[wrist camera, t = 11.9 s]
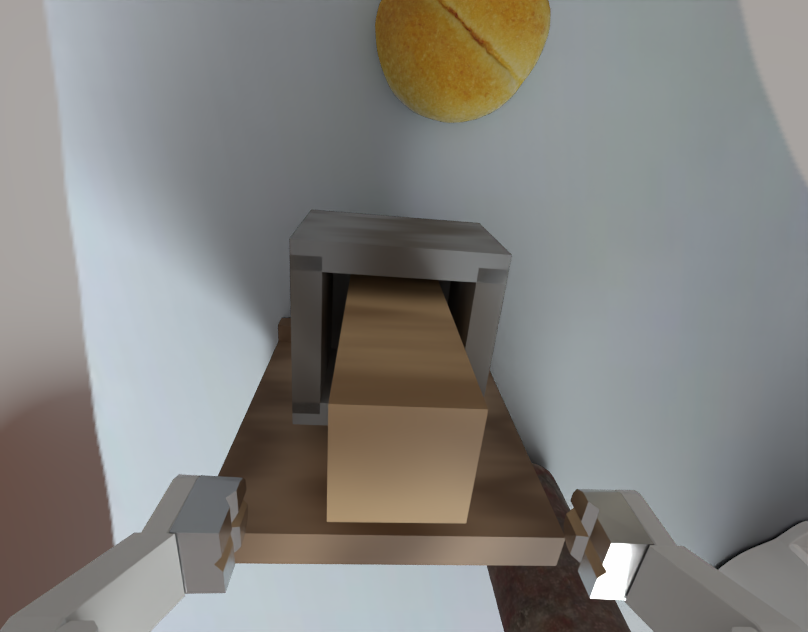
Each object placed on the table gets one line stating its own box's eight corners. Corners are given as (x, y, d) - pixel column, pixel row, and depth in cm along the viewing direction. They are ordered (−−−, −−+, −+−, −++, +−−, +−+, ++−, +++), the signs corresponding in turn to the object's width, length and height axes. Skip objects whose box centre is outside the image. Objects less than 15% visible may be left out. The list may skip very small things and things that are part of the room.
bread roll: (348, 50, 24) (343, 37, 20) (463, -104, 22) (480, -150, 18) (453, 157, 26) (465, 162, 23) (566, 30, 24) (600, 13, 20)
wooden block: (424, 336, 23) (466, 523, 13) (350, 333, 23) (326, 522, 12) (432, 265, 22) (488, 409, 11) (353, 261, 22) (328, 404, 11)
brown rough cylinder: (488, 440, 35) (606, 778, 17) (567, 458, 37) (755, 791, 18) (454, 506, 38) (525, 858, 20) (529, 521, 39) (659, 864, 21)
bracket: (502, 206, 28) (645, 303, 13) (467, 398, 34) (539, 615, 19) (278, 187, 26) (153, 270, 12) (283, 390, 32) (205, 616, 18)
